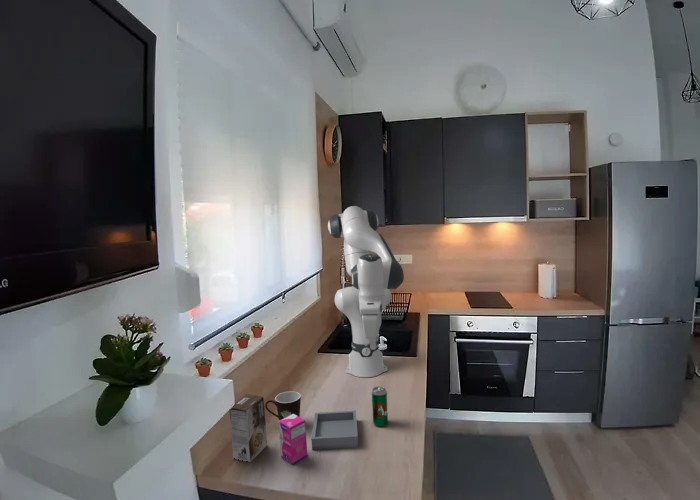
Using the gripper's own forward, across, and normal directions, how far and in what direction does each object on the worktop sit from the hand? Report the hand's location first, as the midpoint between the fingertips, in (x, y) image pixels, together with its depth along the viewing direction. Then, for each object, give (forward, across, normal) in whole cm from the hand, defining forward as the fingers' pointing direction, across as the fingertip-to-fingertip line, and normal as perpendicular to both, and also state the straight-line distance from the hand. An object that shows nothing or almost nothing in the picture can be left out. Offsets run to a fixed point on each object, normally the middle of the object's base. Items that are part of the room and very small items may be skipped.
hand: (374, 344), depth 134 cm
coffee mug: (+26, +4, -31) cm, 41 cm away
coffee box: (+27, +20, -37) cm, 50 cm away
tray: (+27, +8, -13) cm, 31 cm away
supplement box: (+27, +21, -23) cm, 42 cm away
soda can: (+27, +1, +1) cm, 27 cm away
